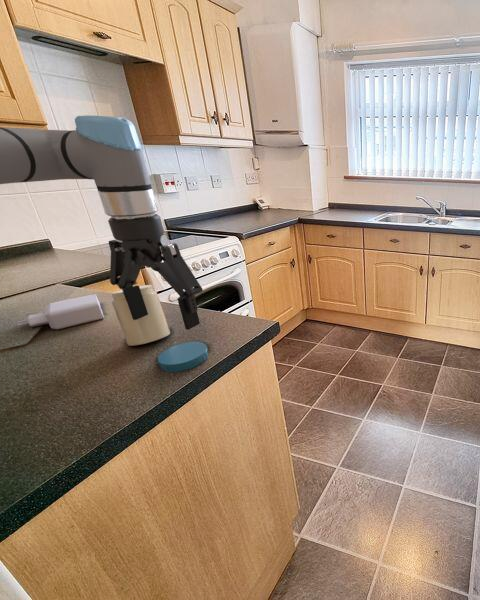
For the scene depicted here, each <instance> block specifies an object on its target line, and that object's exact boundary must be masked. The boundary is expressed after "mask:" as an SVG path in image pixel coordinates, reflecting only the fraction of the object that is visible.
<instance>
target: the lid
mask: <svg viewBox="0 0 480 600" xmlns="http://www.w3.org/2000/svg"><path fill="white" fill-rule="evenodd" d="M209 353H210V352H209V348H208V346H207V344H206V343H204V342H202V341H187V342H182V343H178V344H175V345H173V346H170V347H168V348H167V349H165V350H163V351H162V352H161V353H160V354H159V355H158V357H157V364H158V366H159V368H160V370H161V371H163V372H165V373H179V372H185V371H188V370H191V369H194V368H196V367H198V366H200V365H201V364H203V363H204V362H205V361H207V360H208V358H209V356H210V354H209Z"/></svg>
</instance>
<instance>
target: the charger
mask: <svg viewBox="0 0 480 600" xmlns="http://www.w3.org/2000/svg"><path fill="white" fill-rule="evenodd" d="M103 312H104V311H103V309H102V306H101V304H100V301H99V299H98V297H97V294H96V293H93V294H88V295H84V296H79V297H73V298H68V299H63V300H59V301H54V302H49V304H47V305H46V306H45V311H44V312H39V313H35V314H30V315H28V317H27V319H24V320H23V319H22V320H19V321H17V323H16V326H18V327H20V326H23V325H29V327H30V328H34V327H35V328H36V327H39V326H43V325H44V326H45V325H49V327H50V328H51V329H52V330H61V329H65V328H69V327H75V326H77V325H78V326H79V325H83V324H87V323H91V322H95V321H99V320H103V319H105V317H104V313H103Z"/></svg>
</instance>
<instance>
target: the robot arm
mask: <svg viewBox="0 0 480 600" xmlns="http://www.w3.org/2000/svg"><path fill="white" fill-rule="evenodd" d="M74 123H75V129H73V130H69V129H68V130H65V129H64V130H63V129H39V128H24V127H23V128H22V127H6V126H5V127H3V126H0V185H6V184H7V185H9V184H19V183H20V184H21V183H32V182H33V183H35V182H47V181H59V180H93V181H94V185H95V186H96V190H97V192H98V195H99V198H100V202H101V205H102V209H103V211H104V214H105V215H106V216H108V217H110V218H108V219H107V222H108V225H109V228H110V231H111V234H112V237H113V238H114V239H112V240H111V239H110V240H109V241H108V247H109V250H110V266H109V269H110V270H109V272H110V273H109V282H110V284H111V285H112V286H117V287H118V289H120V290H122V291H123V293H124V296H125V299H126V301H127V303H128V306H129V309H130V312H131V315H132V318H133V320H137V319H139V318H142V317H144V316H146V315H148V312H147V309H146V306H145V303H144V300H143V297H142V294H141V290H140V287H139V286H140V285H138V284H139V282H138V281H137V280H138V277H139V275H140V273H141V269H142V267H146V268H151V270H153V271H154V272H157V273H158V274H159V275H160V276H161V277H162V278H163V279H164V280H165V281H166V282H167V284H168V285H169V286H170V287H171V288H172V289H173V290H174V292H175V293H176V294H177V295H178V296H179V297H177V298H176V300H177V303H178V306H179V307H178V308H179V310H180V313H181V318H182V321H183V325H184V329H185V330H187V331H189V330H191V329H193V328H195V327H197V326H199V325H200V324H201V322H200V318H199V314H198V308H199V307H198V303H197V301H196V295H198V294H201V293H203V290H204V289H203V288H202V286H201V284H200V282H199V281H198V279H197V278H196V277H195V275H194V273H193V271H192V270H191V268H190V266H189V265H188V263H187V262H186V261H185V259H184V257H183V256H182V254H181V251H180V249H179V245H178V244H177V243H176V242H172V243H170V244H164V243H163V241H162V236H164V234H165V230H164V225H163V222H162V217H161V216H160V215H159V214H157V212H158V211H159V208H158V205H157V201H156V197H155V194H154V191H153V186H152V183H151V181H150V176H149V173H148V169H147V165H146V160H145V156H144V151H143V150H144V148H143V145H141V142H140V139H139V136H138V132H137V131H136V127H135V125H134V123H133V122H132V121H131V120H129V119H127V118H125V117H120V116H119V117H118V116H109V115H90V114H89V115H87V114H86V115H77V116H76V117H74Z"/></svg>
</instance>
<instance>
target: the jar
mask: <svg viewBox="0 0 480 600" xmlns="http://www.w3.org/2000/svg"><path fill="white" fill-rule="evenodd" d="M138 286H139V287H140V290H141V294H142V297H143V300H144V303H145V306H146V309H147V312H148V315H146V316H144V317H142V318H139V319H137V320H133V318H132V315H131V312H130V309H129V306H128V303H127V301H126V299H125V296H124V293H123V291H122V289H120V290H116V291H113V292H111V293H110V294H111V296H110V297H111V298H112V299H111V300H110V302H111V304H112V307H113V310H114V312H115V314H116V318H117V321H118V323H119V325H120V328H121V331H122V333H123V336H124V339H125V342H126V345H127V346H131V347H133V346H139V345H144V344H148V343H149V344H150V343H152V342H155V341H158V340H161V339H163V338H166V337H168V336H169V335H171V330H170V327H169V324H168V321H167V318H166V315H165V312H164V309H163V306H162V304H161V303H162V302H161V301H160V298H159V294H158V292H157V290H154V285H153V284H145V285H138Z"/></svg>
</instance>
